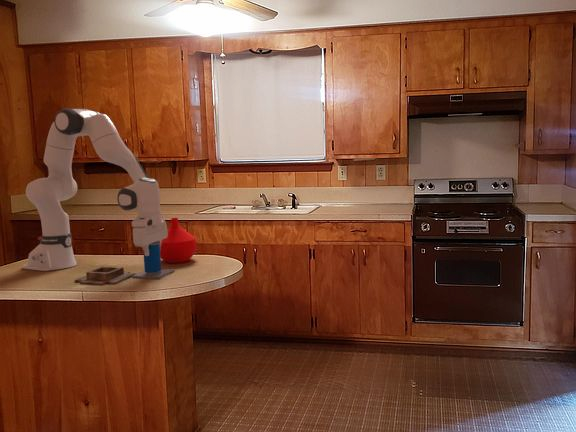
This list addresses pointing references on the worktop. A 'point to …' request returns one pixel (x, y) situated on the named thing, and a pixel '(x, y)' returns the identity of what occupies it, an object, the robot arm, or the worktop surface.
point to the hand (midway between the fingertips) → (152, 253)
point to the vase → (177, 244)
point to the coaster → (153, 276)
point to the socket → (105, 276)
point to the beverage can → (153, 259)
